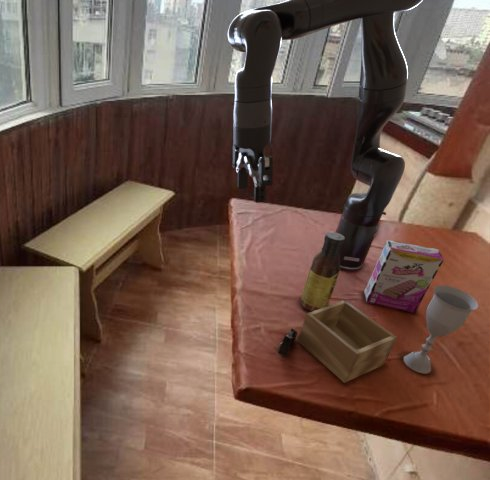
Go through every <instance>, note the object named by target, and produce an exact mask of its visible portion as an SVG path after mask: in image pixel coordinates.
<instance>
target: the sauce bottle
mask: <svg viewBox="0 0 490 480" xmlns="http://www.w3.org/2000/svg"><path fill="white" fill-rule="evenodd" d="M344 240H345V237H344V236H343V235H341V234H339V233H336V231H328V232H325V235H324V239H323V244H322V247H321V250H320V251H319V252H318V253H317V254H316V255H314V257H313V260H312V262H311V265H310V266H309V270H308V273H307V277H306V280H305V284H304V287H303V290H302V293H301V297H300V298H301V299H300V305H301V307H303V308H304V309H305V310H307V311H308V312H312V311H315V310H318V309H321V308H324V307H327V306H329V304H330V301H331V298H332V295H333V292H334V289H335V286H336V283H337V280H338V278H339V275H340V271H341V269H340V255H339V254H340V250H341V247H342V245H343V244H344Z"/></svg>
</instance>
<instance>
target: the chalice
mask: <svg viewBox="0 0 490 480" xmlns="http://www.w3.org/2000/svg"><path fill="white" fill-rule="evenodd" d="M478 308H479V303H478V302H477V300H476V299H475V298H474V297H473V296H471V294H469V293H467V292H465V291H464V290H461V289H460V288H457V287H454V286H449V285H443V284H441V285H437V286H435V287H434V288H433V297H432V298H431V300H430V301H429V303H428V306H427V308H426V311H425V312H426V313H425V321H426V322H425V323H426V329H427V331H428V333H429V336H428V337H426V338H425V340H426V341H425V343H422V344H421V347H422V348H421V351H419V350H418V351H417V350H416V351H415V350H414V351H411V352H410V353H408V354H406V355H404V356H403V362H404V364H405V366H407V367H408V368H409V369H411V370H412V371H415V372H416V373H420V374H424V375H425V374H430V373H431V372H432V361H431V358H430V357H429V355H428V354H427V353H428V352H430V351H432V350H433V348H432V345H434V344H436V338H437V337H438V338H444V337H446V336H447V335H449V334H452V333H454V332H455V331H457V330H459V329H461V327H462V326H463V325H464V324H465V322H466V320H467V319H468V317H469V316H470V314H471V312H472V311H475V310H476V309H478Z"/></svg>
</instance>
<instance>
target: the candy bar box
mask: <svg viewBox="0 0 490 480" xmlns="http://www.w3.org/2000/svg"><path fill="white" fill-rule="evenodd" d="M444 261H445V258H444V257H443V254H442V253H441V252H440V250H439V249H437V248H433V247H428V246H422V245H418V244H417V245H416V244H411V243H407V242H401V241H397V240H396V241H395V240H391V239H387V240H386V242H385V243H384V246H383V248H382V251H381V252H380V255H379V257H378V260H377V262H376V263H375V266H374V268H373V271H372V273H371V275H370V277H369V279H368V281H367V284H366V287H365V289H364V290H363V291H364V292H363V294H364V299H365V302H366V303H367V304H371V305H374V306H375V305H376V306H380V307H385V308H389V309H394V310H399V311H403V312H407V313H412V314H415V313H416V312H417V311H418V308H419V306H420V304H421V303H422V301H423V299H424V297H425V295H426V293H427V292H428V291H429V288H430V287H431V284H432V283H433V281H434V279H435V277H436V276H437V274H438V272H439V270H440V268H441V265H442V264H443V262H444Z"/></svg>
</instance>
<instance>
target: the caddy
mask: <svg viewBox="0 0 490 480" xmlns="http://www.w3.org/2000/svg"><path fill="white" fill-rule="evenodd" d="M397 339H398V337H397V336H396V335H395V334H393V333H392V332H391V331H389V330H388V329H386V328H385V327H384V326H382V325H381V324H379V323H378V322H377V321H375V320H374V319H372V318H371V317H369V316H368V315H367V314H365V313H364V312H363V311H361V310H359V309H358V308H356V307H355V305H352V304H351V303H350V302H348V301H347V300H341V301H338V302H335V303H333V304H330V305H329V304H328V306H327V307H324V308H321V309H318V310H315V311H312V312H311V311H309V312H307V313H305V317H304V320H303V323H302V326H301V329H300V331H299V335H298V336H297V342H298V343H299V344H300V345H302V347H303V348H305V349H306V350H307V351H308V352H309V353H310V354H311V355H312V356H313V357H314V358H316V359H317V360H318V361H319V362H320V363H322V365H323V366H325V367H326V368H327V369H328V370H329V371H330V372H332V374H334V376H335V377H337V378H338V379H339V380H340V381H341V382H342V383H343V384H344V383H348V382H350V381H352V380H354V379H356V378H358V377H361V376H362V375H365V374H368V373H369V372H372V371H373V370H376V369H377V368H380V367H382V366H384V364H385V362H386V360H387V358H388V356H389V354H390V352H391V350H392V349H393V346H394V345H395V343H396V341H397Z"/></svg>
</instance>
